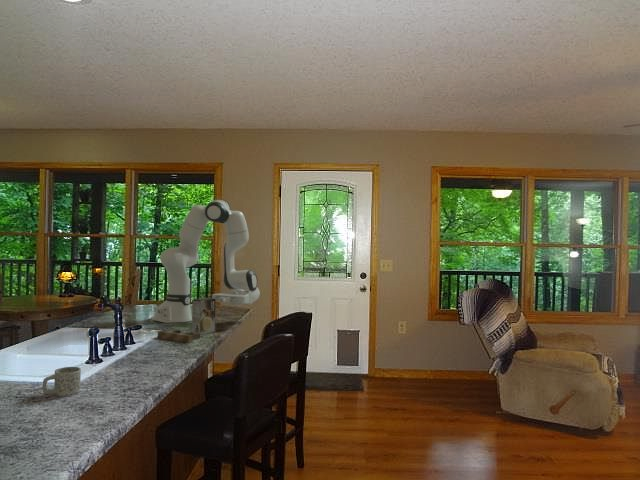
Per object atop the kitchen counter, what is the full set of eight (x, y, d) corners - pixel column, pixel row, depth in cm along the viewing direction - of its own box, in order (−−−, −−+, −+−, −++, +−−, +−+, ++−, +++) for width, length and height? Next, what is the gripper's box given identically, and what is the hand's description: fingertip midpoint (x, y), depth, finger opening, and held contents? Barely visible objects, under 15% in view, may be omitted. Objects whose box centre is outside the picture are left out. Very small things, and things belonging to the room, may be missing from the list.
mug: (74, 387, 142) (74, 365, 142) (84, 392, 138) (84, 369, 138) (37, 395, 134) (38, 372, 134) (47, 401, 130) (47, 377, 130)
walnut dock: (157, 337, 211) (157, 331, 211) (173, 334, 220) (173, 327, 220) (189, 343, 203) (189, 336, 203) (204, 338, 212) (204, 332, 212)
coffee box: (206, 330, 230) (207, 297, 230) (215, 332, 226) (216, 298, 226) (191, 333, 223) (192, 298, 223) (199, 335, 219) (200, 300, 219)
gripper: (221, 289, 252) (204, 292, 240) (253, 291, 243) (237, 294, 231) (221, 301, 252) (204, 304, 240) (253, 304, 243) (237, 307, 231)
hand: (221, 299), depth 235 cm, fingers closed
